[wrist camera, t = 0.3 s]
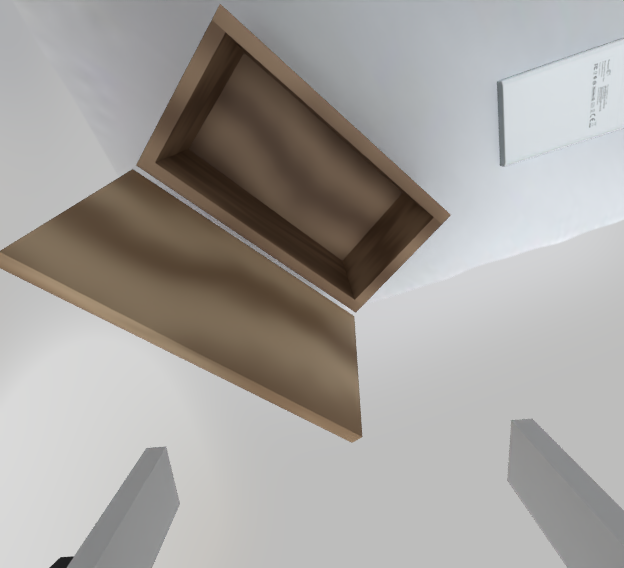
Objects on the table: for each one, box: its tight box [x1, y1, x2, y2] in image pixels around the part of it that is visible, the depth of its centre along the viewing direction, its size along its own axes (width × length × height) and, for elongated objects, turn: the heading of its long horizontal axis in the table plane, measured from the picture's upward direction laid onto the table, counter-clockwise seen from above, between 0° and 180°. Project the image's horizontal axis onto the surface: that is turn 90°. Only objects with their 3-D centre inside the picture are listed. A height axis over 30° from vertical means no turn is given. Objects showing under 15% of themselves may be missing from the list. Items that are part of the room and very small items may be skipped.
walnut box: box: [137, 4, 450, 312], centre depth 31 cm, size 12×22×10 cm, turn 52°
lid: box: [0, 169, 362, 442], centre depth 23 cm, size 12×22×1 cm
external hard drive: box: [497, 38, 624, 167], centre depth 33 cm, size 2×8×12 cm
